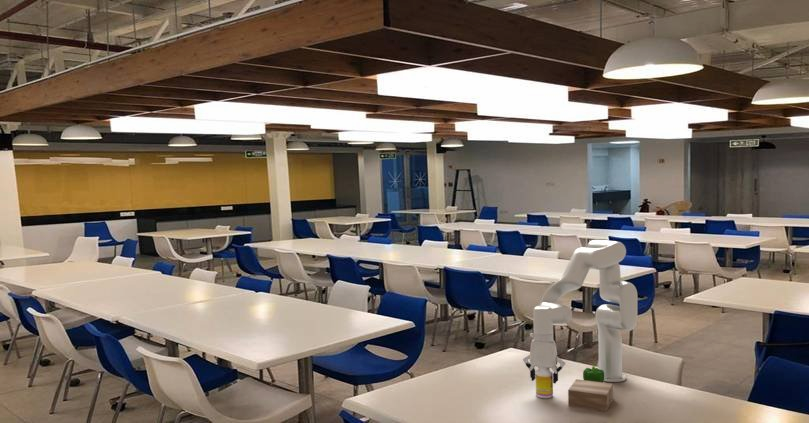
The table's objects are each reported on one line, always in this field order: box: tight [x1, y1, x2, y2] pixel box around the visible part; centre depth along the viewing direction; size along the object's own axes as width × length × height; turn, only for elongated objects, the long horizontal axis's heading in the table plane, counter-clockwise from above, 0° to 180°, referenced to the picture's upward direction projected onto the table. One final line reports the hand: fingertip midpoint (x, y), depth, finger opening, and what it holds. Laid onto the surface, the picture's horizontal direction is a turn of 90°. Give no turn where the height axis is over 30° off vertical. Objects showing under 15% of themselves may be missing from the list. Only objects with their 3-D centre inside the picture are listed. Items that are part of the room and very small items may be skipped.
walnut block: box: [567, 378, 614, 412], centre depth 237 cm, size 14×14×6 cm
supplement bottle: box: [535, 367, 554, 399], centre depth 245 cm, size 7×7×13 cm
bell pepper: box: [582, 365, 605, 383], centre depth 252 cm, size 8×8×10 cm
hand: (544, 380), depth 245 cm, fingers open, 8 cm apart
